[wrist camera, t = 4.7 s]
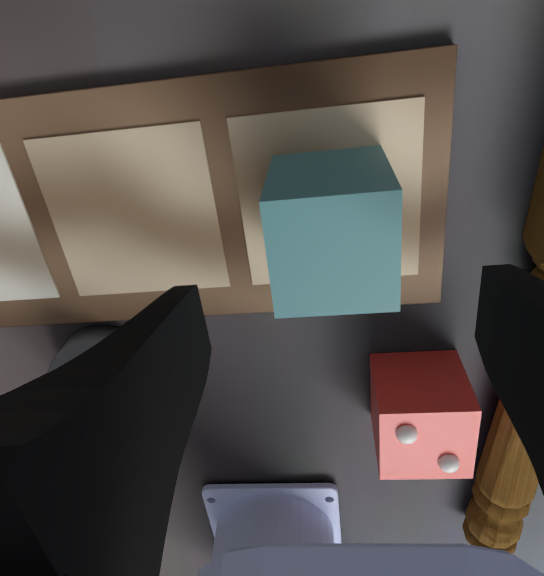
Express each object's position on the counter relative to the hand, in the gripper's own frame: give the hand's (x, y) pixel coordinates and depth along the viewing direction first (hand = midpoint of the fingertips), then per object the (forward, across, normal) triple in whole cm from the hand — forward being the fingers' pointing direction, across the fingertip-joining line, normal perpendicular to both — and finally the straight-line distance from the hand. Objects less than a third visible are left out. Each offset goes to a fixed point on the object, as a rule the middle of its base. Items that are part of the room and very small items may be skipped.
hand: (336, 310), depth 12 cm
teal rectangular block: (+8, 0, 0) cm, 8 cm away
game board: (+8, +8, 0) cm, 12 cm away
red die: (+8, -4, +10) cm, 14 cm away
